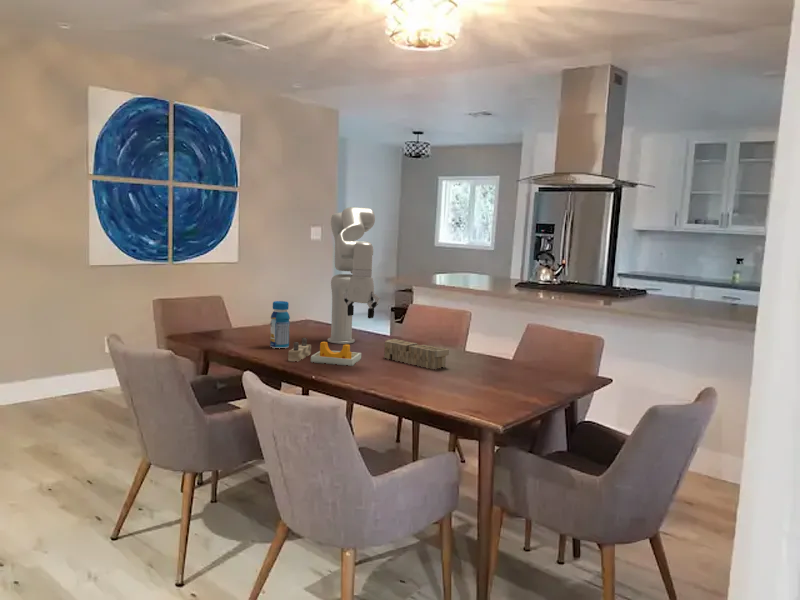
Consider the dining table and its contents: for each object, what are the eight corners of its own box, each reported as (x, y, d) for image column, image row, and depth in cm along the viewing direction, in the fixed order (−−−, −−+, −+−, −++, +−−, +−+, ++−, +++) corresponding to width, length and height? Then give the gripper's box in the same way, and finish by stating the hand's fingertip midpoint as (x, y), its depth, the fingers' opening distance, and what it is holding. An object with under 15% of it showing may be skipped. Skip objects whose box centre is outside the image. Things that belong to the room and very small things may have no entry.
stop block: (301, 353, 268) (302, 336, 268) (310, 354, 268) (311, 337, 267) (288, 360, 253) (288, 343, 252) (297, 361, 252) (298, 344, 251)
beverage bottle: (283, 350, 273) (284, 303, 271) (266, 347, 276) (267, 302, 274) (292, 346, 281) (294, 301, 279) (275, 344, 284) (276, 300, 281)
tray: (321, 355, 266) (321, 349, 266) (361, 358, 263) (361, 353, 262) (310, 362, 252) (310, 356, 252) (352, 366, 249) (352, 359, 249)
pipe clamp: (351, 359, 258) (351, 344, 257) (346, 361, 253) (347, 345, 253) (324, 356, 262) (325, 340, 261) (319, 358, 258) (320, 342, 257)
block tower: (381, 360, 267) (436, 371, 248) (381, 340, 266) (436, 349, 247) (394, 358, 273) (448, 368, 254) (394, 338, 272) (449, 347, 253)
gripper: (338, 272, 253) (337, 315, 255) (375, 275, 244) (373, 320, 246) (349, 271, 259) (348, 313, 261) (385, 275, 250) (383, 318, 252)
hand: (360, 316), depth 253 cm, fingers open, 9 cm apart
